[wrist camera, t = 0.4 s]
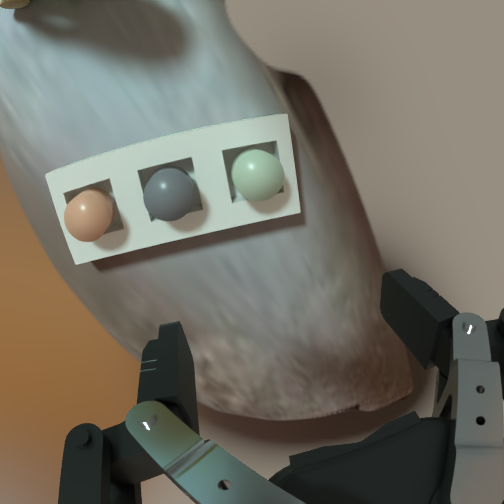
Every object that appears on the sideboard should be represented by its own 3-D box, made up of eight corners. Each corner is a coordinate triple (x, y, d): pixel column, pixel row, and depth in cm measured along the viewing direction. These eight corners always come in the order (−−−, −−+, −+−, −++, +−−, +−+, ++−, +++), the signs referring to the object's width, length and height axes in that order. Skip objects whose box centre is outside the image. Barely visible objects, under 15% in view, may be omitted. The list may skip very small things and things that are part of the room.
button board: (56, 168, 28) (45, 174, 26) (279, 113, 31) (287, 113, 28) (83, 253, 33) (75, 264, 30) (292, 204, 35) (300, 212, 32)
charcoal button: (143, 172, 28) (137, 178, 25) (188, 161, 29) (187, 166, 26) (154, 215, 30) (150, 226, 27) (198, 205, 31) (198, 215, 28)
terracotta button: (69, 194, 28) (57, 203, 25) (108, 182, 28) (99, 189, 25) (82, 234, 30) (73, 246, 27) (120, 224, 30) (113, 235, 27)
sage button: (226, 152, 29) (230, 157, 26) (271, 144, 29) (280, 147, 27) (234, 196, 31) (239, 206, 28) (278, 188, 31) (287, 196, 29)
